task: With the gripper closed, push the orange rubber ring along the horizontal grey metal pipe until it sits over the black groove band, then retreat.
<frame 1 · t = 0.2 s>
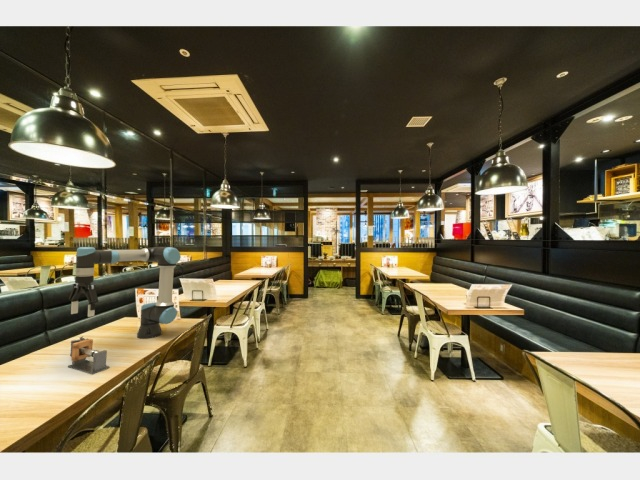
hand: (82, 314, 141), 27 cm above the table, fingers open, 13 cm apart
pipe rail: (88, 367, 139), on the table
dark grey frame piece: (80, 355, 154), on the table
ring: (82, 349, 141), point 8 cm above the table, slide at 0.0 cm
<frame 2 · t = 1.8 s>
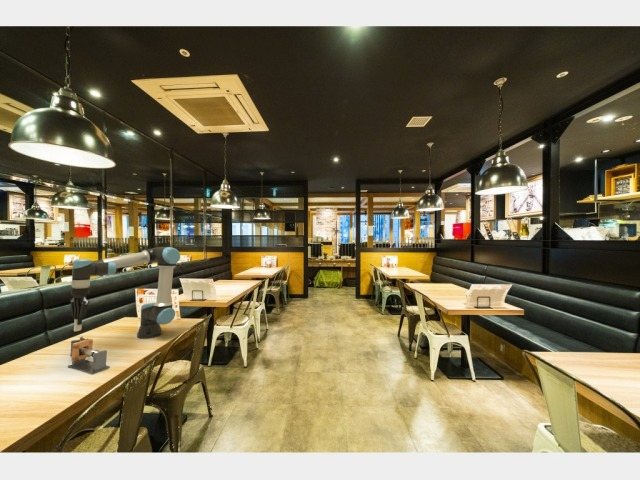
hand: (77, 330, 143), 18 cm above the table, fingers closed
nothing on the table moved.
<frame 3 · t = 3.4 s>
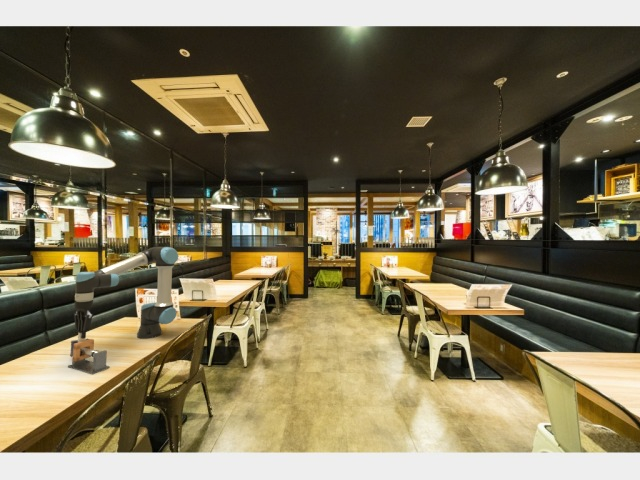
hand: (81, 343, 142), 11 cm above the table, fingers closed
ring: (83, 349, 141), point 8 cm above the table, slide at 1.0 cm, touching gripper
everything else where it was.
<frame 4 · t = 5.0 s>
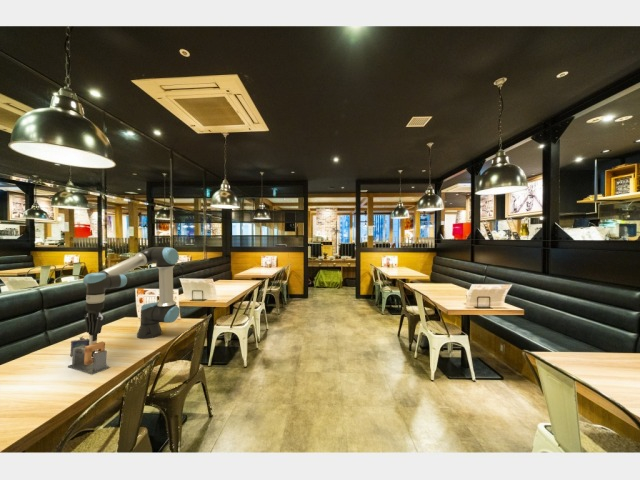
hand: (92, 346, 139), 11 cm above the table, fingers closed
ring: (94, 352, 138), point 8 cm above the table, slide at 10.3 cm, touching gripper
everything else where it was.
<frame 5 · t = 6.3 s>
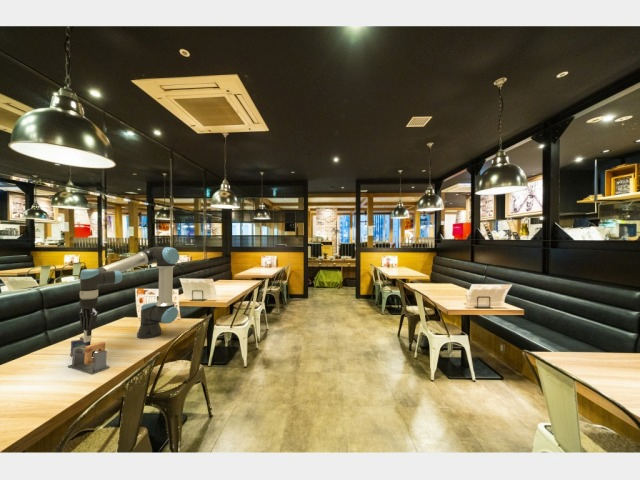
hand: (87, 341, 141), 13 cm above the table, fingers closed
ring: (95, 352, 138), point 8 cm above the table, slide at 10.4 cm
everything else where it was.
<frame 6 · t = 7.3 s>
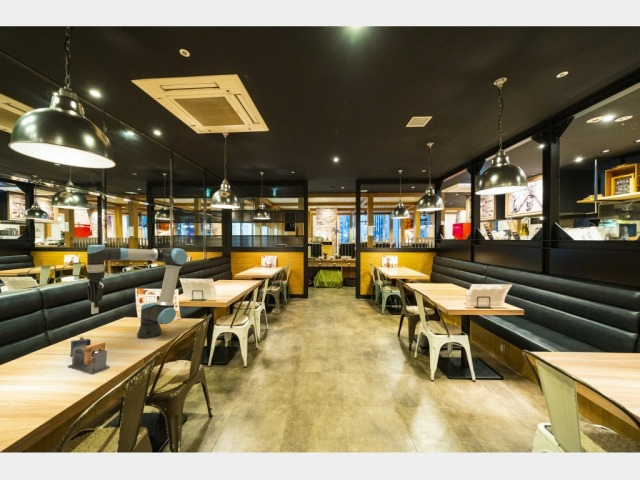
hand: (94, 313, 149), 27 cm above the table, fingers closed
nothing on the table moved.
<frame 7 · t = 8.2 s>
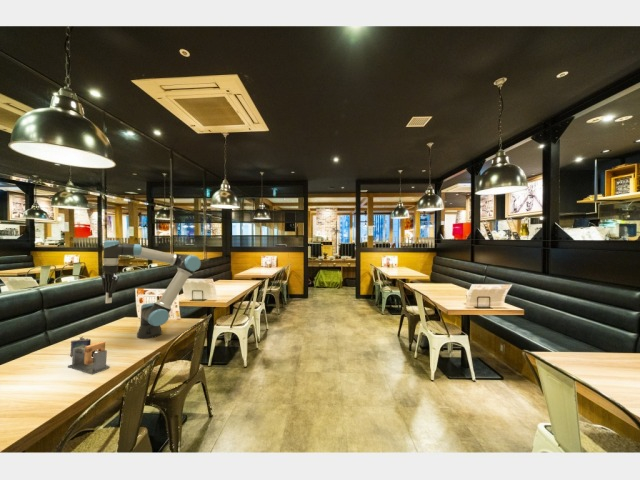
hand: (108, 302, 162), 29 cm above the table, fingers closed
nothing on the table moved.
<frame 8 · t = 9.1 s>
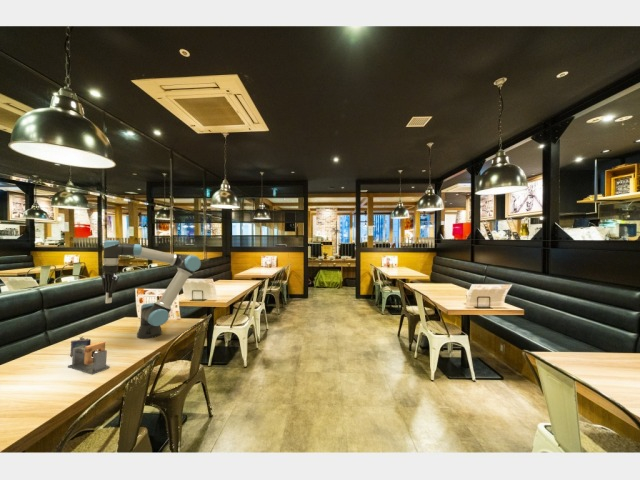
hand: (108, 302, 162), 29 cm above the table, fingers closed
nothing on the table moved.
at the end: ring slide at 10.4 cm; ring touching nothing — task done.
